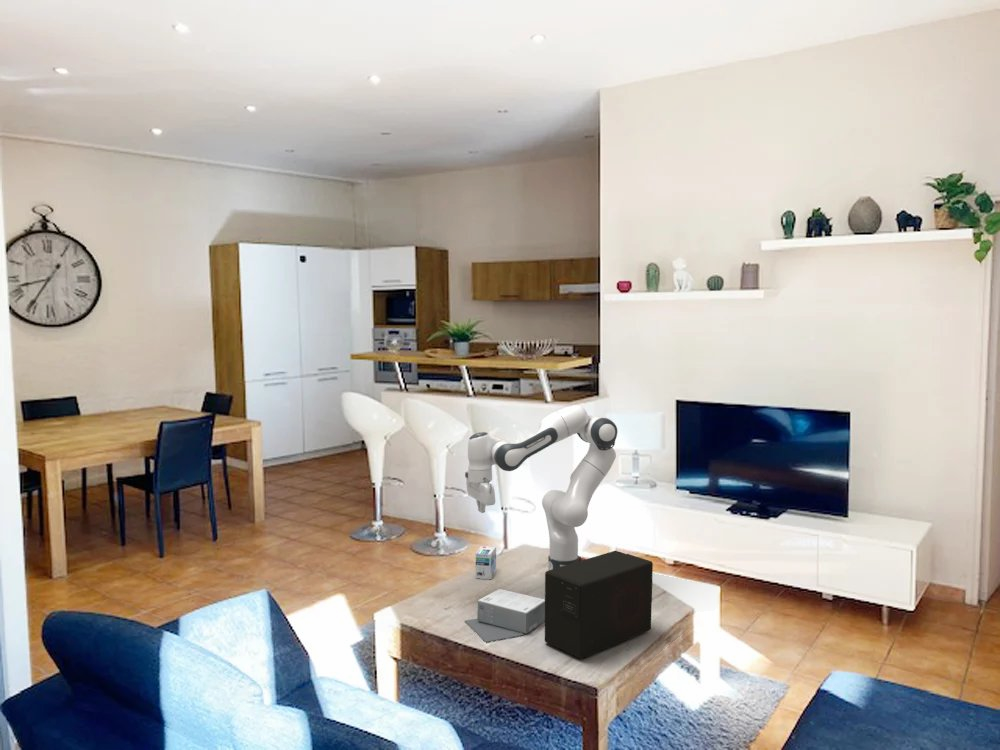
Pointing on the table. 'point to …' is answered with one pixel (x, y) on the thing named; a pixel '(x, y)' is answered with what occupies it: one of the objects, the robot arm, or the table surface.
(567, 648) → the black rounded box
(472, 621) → the mat
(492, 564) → the light bulb box
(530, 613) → the hard drive box
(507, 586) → the table surface
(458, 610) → the table surface
